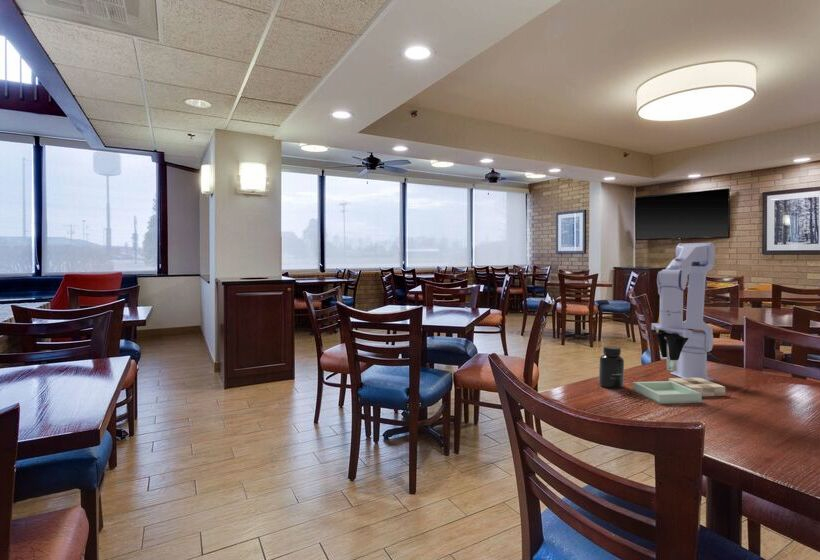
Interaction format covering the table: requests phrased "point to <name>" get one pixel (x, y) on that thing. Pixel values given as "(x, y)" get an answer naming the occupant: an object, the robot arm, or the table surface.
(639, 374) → the table surface
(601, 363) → the supplement bottle
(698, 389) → the birch block
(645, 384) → the green tray
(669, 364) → the steel pin
